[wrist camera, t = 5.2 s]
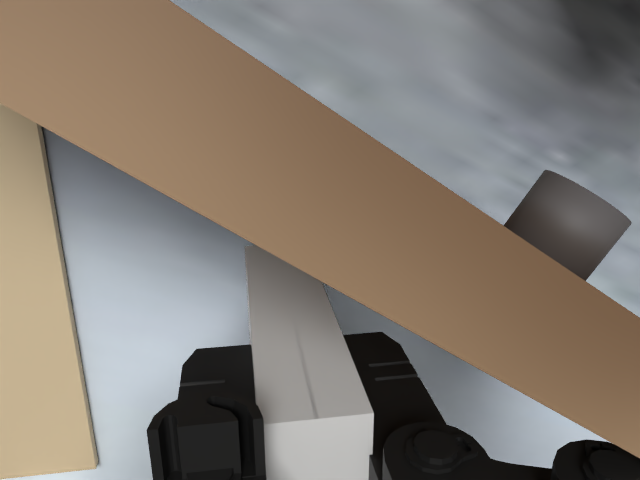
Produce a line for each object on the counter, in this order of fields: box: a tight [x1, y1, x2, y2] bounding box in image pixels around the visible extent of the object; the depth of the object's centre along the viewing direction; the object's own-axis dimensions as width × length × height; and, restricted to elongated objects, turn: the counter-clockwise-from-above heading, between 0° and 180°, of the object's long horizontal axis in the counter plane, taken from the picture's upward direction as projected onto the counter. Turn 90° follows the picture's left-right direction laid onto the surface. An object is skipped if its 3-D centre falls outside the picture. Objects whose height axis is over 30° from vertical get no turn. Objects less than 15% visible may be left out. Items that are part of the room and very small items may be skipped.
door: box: [0, 0, 640, 458], centre depth 9 cm, size 2×14×10 cm, turn 56°
